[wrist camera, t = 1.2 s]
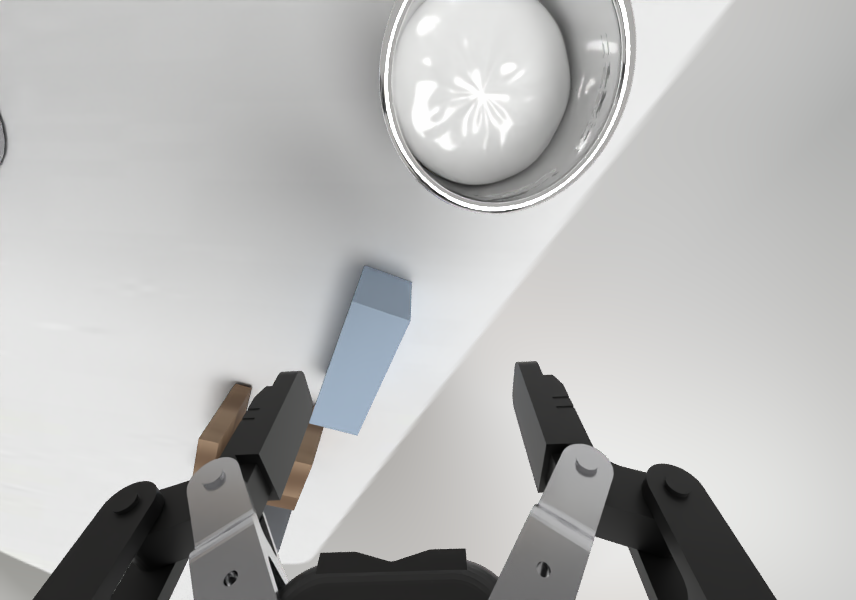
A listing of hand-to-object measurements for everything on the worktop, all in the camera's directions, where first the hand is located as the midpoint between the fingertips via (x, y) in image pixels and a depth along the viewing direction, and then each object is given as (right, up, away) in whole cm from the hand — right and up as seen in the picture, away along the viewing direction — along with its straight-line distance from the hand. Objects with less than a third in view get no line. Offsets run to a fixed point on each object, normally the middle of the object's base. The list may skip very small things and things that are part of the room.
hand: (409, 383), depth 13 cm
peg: (-5, 0, +17) cm, 18 cm away
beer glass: (+2, +16, +9) cm, 18 cm away
